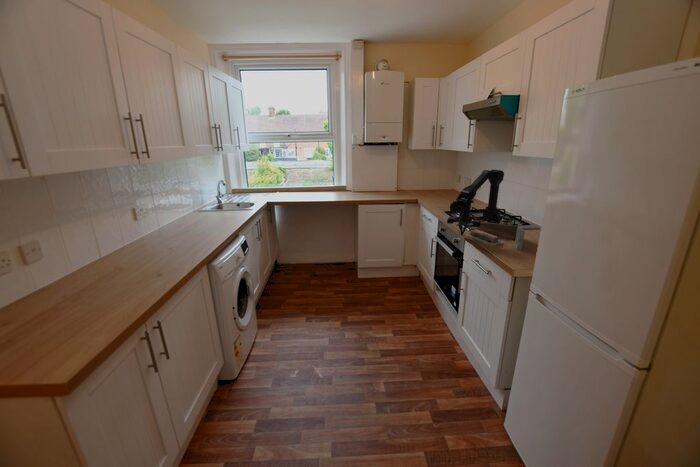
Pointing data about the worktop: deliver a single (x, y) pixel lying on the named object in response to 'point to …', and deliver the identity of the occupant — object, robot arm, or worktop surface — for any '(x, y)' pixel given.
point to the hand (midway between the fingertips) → (461, 235)
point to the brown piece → (505, 231)
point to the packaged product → (484, 237)
